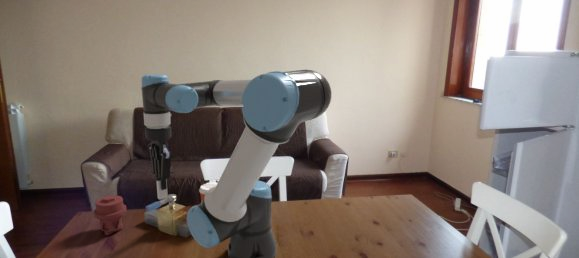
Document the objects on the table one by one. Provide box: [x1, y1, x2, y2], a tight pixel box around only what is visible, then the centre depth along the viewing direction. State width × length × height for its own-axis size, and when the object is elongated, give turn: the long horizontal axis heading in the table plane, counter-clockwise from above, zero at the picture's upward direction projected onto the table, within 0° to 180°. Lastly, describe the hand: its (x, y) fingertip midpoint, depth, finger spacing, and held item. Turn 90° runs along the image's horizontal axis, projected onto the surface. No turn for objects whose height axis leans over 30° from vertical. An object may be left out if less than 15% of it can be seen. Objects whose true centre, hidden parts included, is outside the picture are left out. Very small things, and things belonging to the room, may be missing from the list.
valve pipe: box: [143, 201, 192, 238], centre depth 128 cm, size 20×6×11 cm, turn 61°
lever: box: [145, 193, 177, 212], centre depth 122 cm, size 3×12×1 cm, turn 151°
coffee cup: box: [198, 181, 218, 203], centre depth 129 cm, size 8×8×15 cm
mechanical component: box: [93, 194, 127, 236], centre depth 125 cm, size 12×10×10 cm
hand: (162, 197), depth 117 cm, fingers closed
